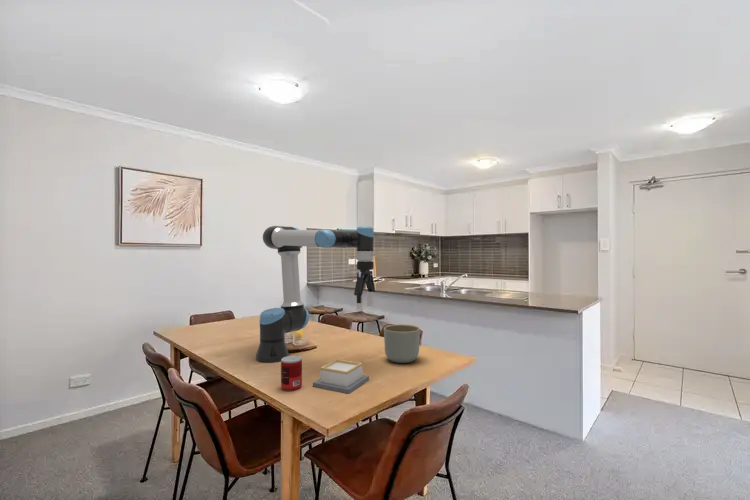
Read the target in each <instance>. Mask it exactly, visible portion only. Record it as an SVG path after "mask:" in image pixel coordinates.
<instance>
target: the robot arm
mask: <svg viewBox="0 0 750 500" xmlns="http://www.w3.org/2000/svg"><path fill="white" fill-rule="evenodd" d="M374 239H375V234H374V228H373V227H372V226H366V225H363V226H357V227H356V231H355V230H354V231H352V230H351V231H350V230H349V231H348V230H346V231H345V230H332V229H299V228H298V227H295V226H283V225H282V226H281V225H272V226H269V227H267V228H266V229H265V230H264V232H263V233H262V241H263V243H264V244H265V246H266V247H268V248H270V249H273V250H277V254H278V255H279V256H280V260H281V261H280V262H281V263H280V264H281V278H282V281H281V282H282V293H283V294H282V295H283V297H282V298H283V303H282V304H281V305H280V307H274V308H269V309H265V310H262V311H261V312H260V315H259V345H258V348H257V352H256V354H255V360H256V361H257V360H258V361H257V362H260V363H261V362H262V363H276V362H281V359H282V358H284V357H286V356H289V350H288V348H287V344H286V341H285V340H286V339H285V338H286V336H285V335H286V334H287V333H292V332H297V331H300V330H302V329H304V328H305V327H306V326H307V325H308V323H309V321H310V313H309V311H308V310H307V308H306V307H305V306H304V305H305V304H304V303H303V302H302V300H301V289H300V288H301V287H300V270H299V255H300V253H301V248H303V247H310V248H311V247H313V248H325V249H326V248H341V249H346V248H348V249H349V248H353V249H354V248H355V249H356V260H357V261H356V269H357V270H358V271H359V272H358V271H357V272H356V281H355V286H354V287H355V288H354V291H353V292H354V293H353V295H354V296H356V299H355V300H356V303H355V304H356V312H357V311H359V312H360V311H361V312H363V311H364V298H363V297H364V295H363V293H364V289H365V286H366V291H367V292H366V307H374V293H375V292H376V288H375V282H374V281H375V280H374V274H373V270H374V266H375V265H374V263H375V262H374V261H373V260H374V257H375V253H374Z"/></svg>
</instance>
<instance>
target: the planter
mask: <svg viewBox="0 0 750 500" xmlns="http://www.w3.org/2000/svg"><path fill="white" fill-rule="evenodd" d="M420 332H421V328H420V327H419V326H416V325H414V324H413V325H412V324H402V323H401V324H388V325H386V326H384V327H383V338H384V343H383V344H384V354H385V355H386V357H387V359H388V360H389V361H391V362H392V363H396V364H408V363H412V362H414V361H415V360H416V359H417V358H418V356H419V354H420V340H421V339H420V338H421V337H420V336H421V335H420Z"/></svg>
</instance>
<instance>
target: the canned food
mask: <svg viewBox="0 0 750 500" xmlns="http://www.w3.org/2000/svg"><path fill="white" fill-rule="evenodd" d="M280 385H281V390H283V391H286V392H288V391H289V392H291V391H296V390H297V391H298V390H299V389H301V387H302V385H303V358H302V356H300V355H288V356H286V357H284V358H282V359H281V361H280Z"/></svg>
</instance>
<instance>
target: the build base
mask: <svg viewBox="0 0 750 500" xmlns="http://www.w3.org/2000/svg"><path fill="white" fill-rule="evenodd" d="M319 369H320V370H319V379H317V380H316V381H314V382H312V387H313V388H317V389H323V390H329V391H333V392H338V393H344V394H351V393H352V392H353V391H355V390H357V389H358V388H360V387H361V386H362V385H364V384H365V383H367V382H369V380H370V375H365V374H363V363H362V362H358V361H351V360H345V359H337V358H336V359H334V360H332V361H331V362H328V363H326V364H324V365H322V366H321V367H320V368H319Z"/></svg>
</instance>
